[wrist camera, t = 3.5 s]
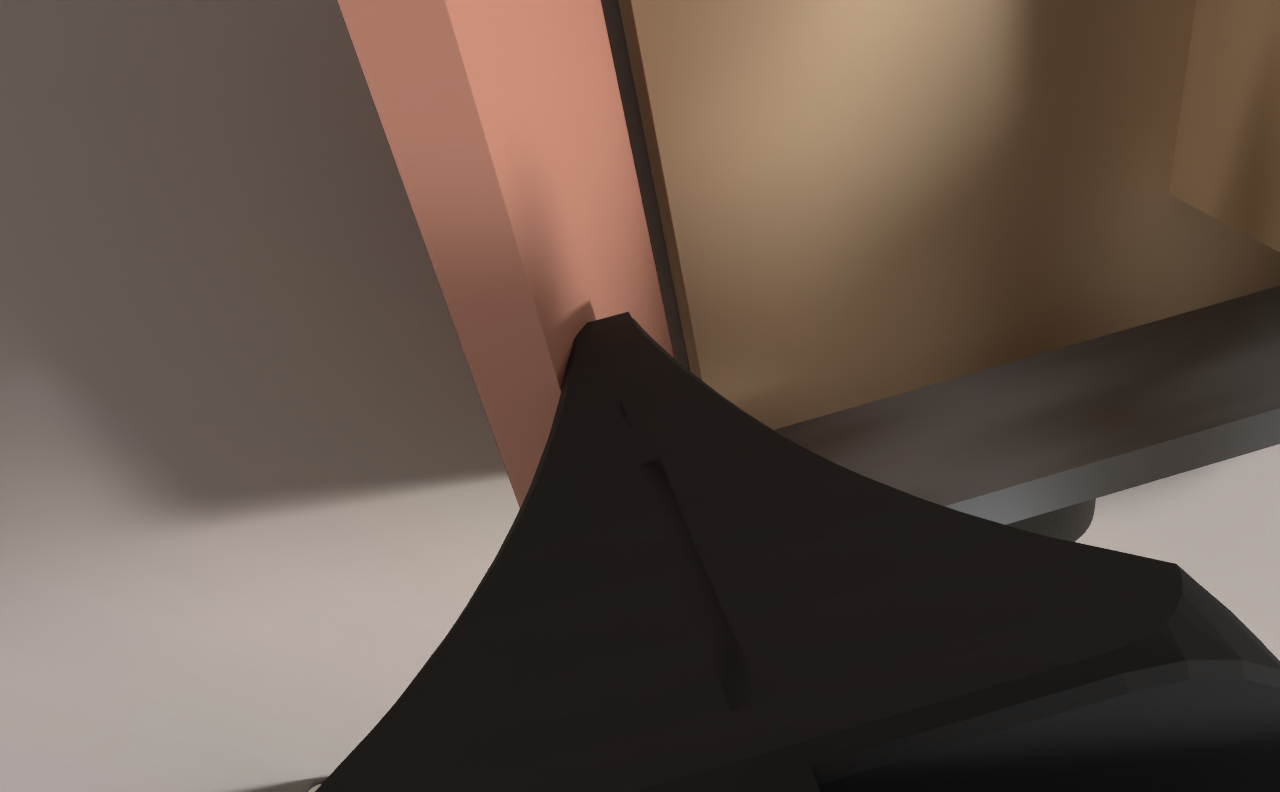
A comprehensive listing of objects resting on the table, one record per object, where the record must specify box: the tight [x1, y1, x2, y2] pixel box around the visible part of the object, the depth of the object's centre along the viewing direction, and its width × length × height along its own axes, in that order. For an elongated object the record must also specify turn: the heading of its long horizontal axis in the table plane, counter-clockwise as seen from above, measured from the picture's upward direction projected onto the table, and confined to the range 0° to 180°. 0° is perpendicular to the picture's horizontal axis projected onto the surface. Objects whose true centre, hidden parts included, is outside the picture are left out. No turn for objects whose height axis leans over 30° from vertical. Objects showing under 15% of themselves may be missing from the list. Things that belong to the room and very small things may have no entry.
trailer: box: [618, 0, 1280, 542], centre depth 13 cm, size 14×15×5 cm
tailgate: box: [337, 0, 674, 508], centre depth 12 cm, size 1×11×6 cm, turn 11°
